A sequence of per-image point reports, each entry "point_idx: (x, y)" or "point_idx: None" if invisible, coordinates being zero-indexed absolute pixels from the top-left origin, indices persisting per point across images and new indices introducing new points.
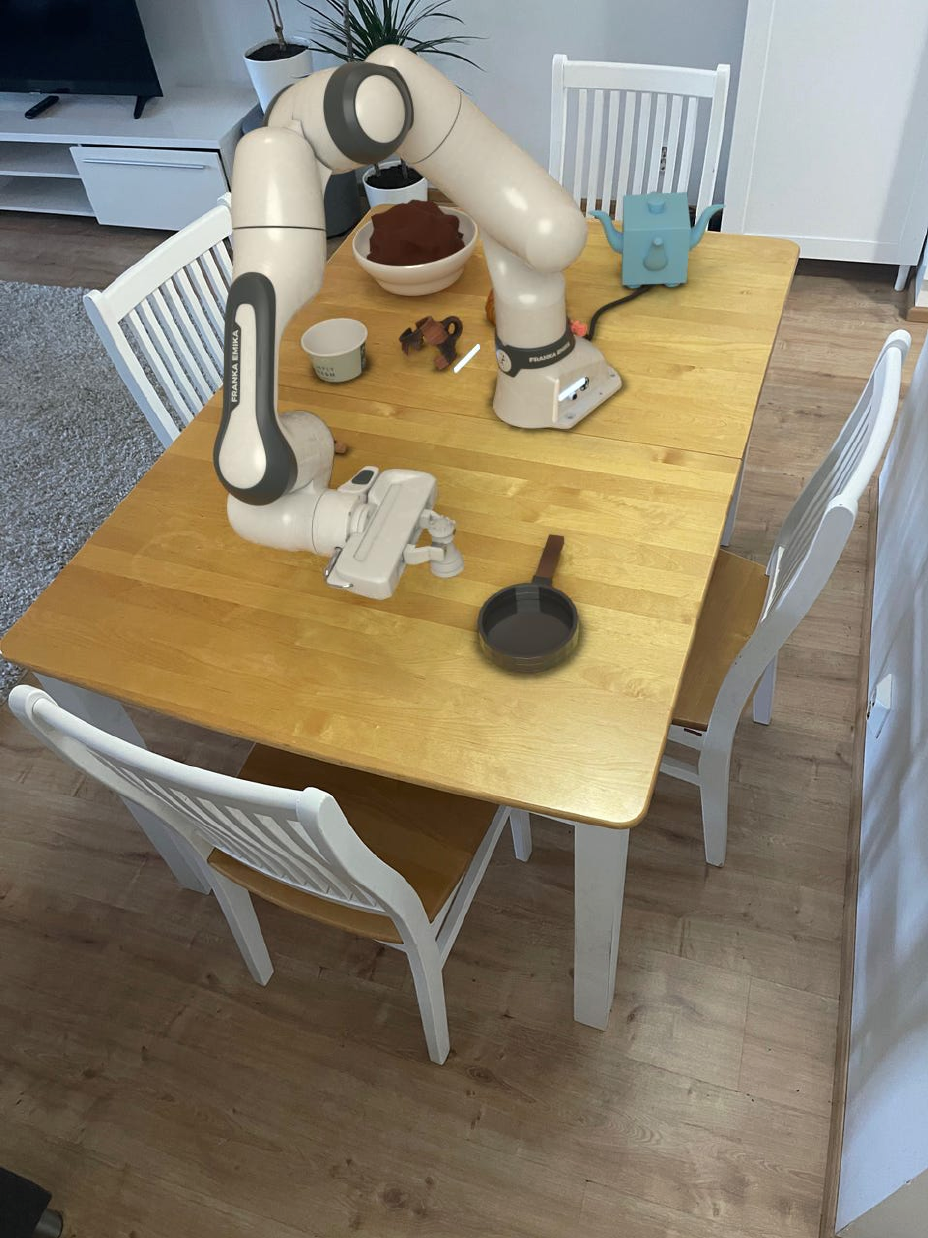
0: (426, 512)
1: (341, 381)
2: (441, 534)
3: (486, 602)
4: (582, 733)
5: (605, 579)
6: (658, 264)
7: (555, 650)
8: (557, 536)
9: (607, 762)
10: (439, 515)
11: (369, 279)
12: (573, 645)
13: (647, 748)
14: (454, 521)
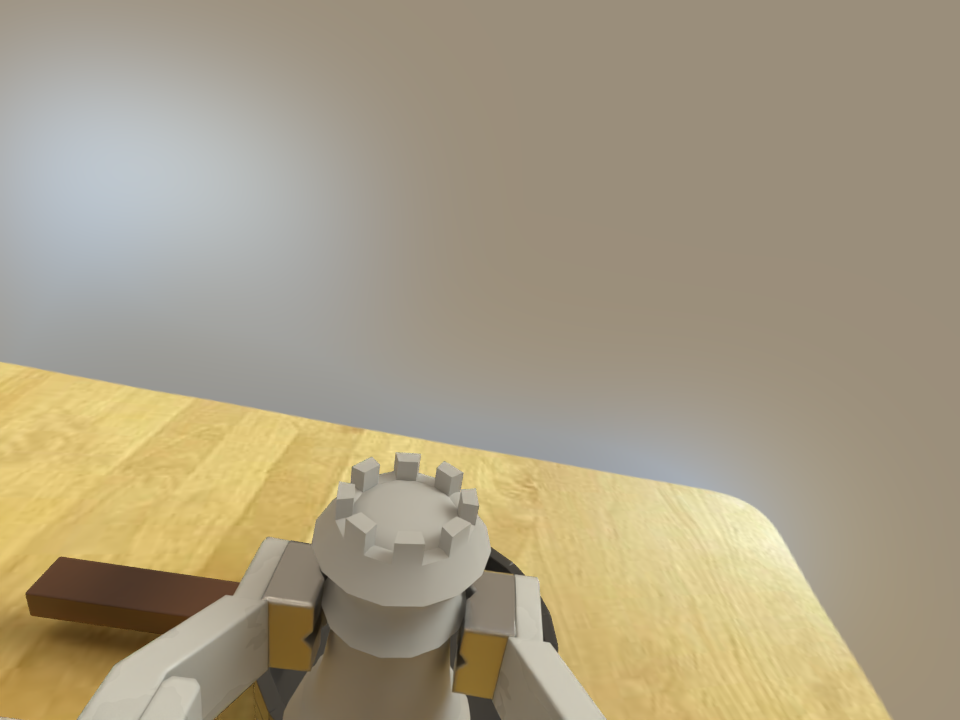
0: (124, 712)
1: None
2: (478, 517)
3: None
4: (646, 557)
5: (220, 522)
6: None
7: (508, 560)
8: (52, 571)
9: (683, 524)
10: (195, 615)
11: None
12: None
13: (628, 481)
14: (273, 538)
